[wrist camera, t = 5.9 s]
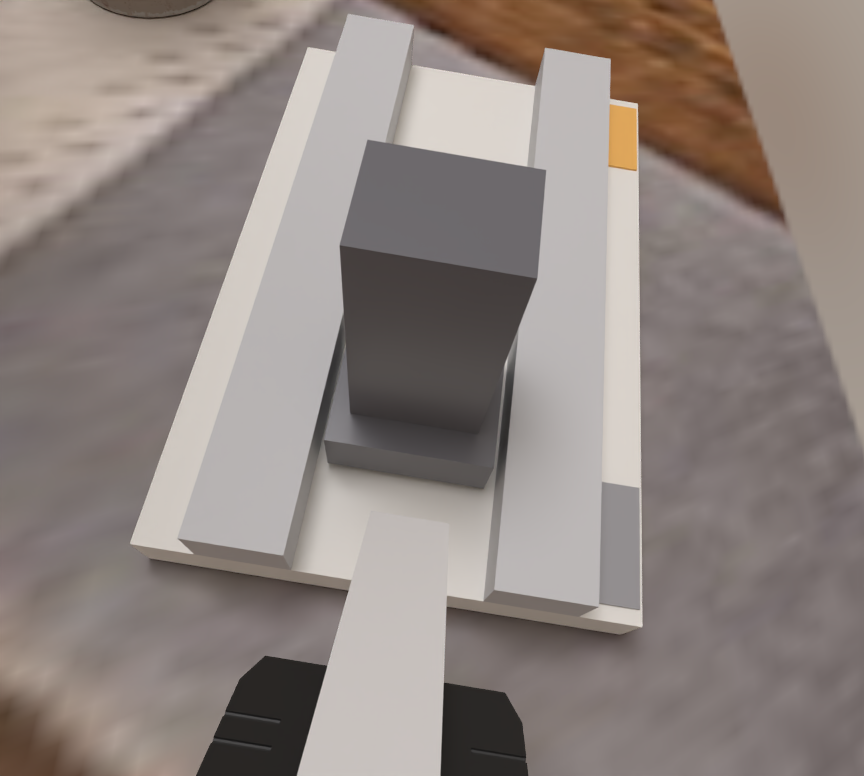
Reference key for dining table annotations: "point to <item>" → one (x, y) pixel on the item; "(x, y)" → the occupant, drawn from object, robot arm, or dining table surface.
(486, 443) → the switch lever
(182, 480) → the switch board
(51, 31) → the dining table surface
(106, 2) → the thermos bottle
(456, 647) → the dining table surface
